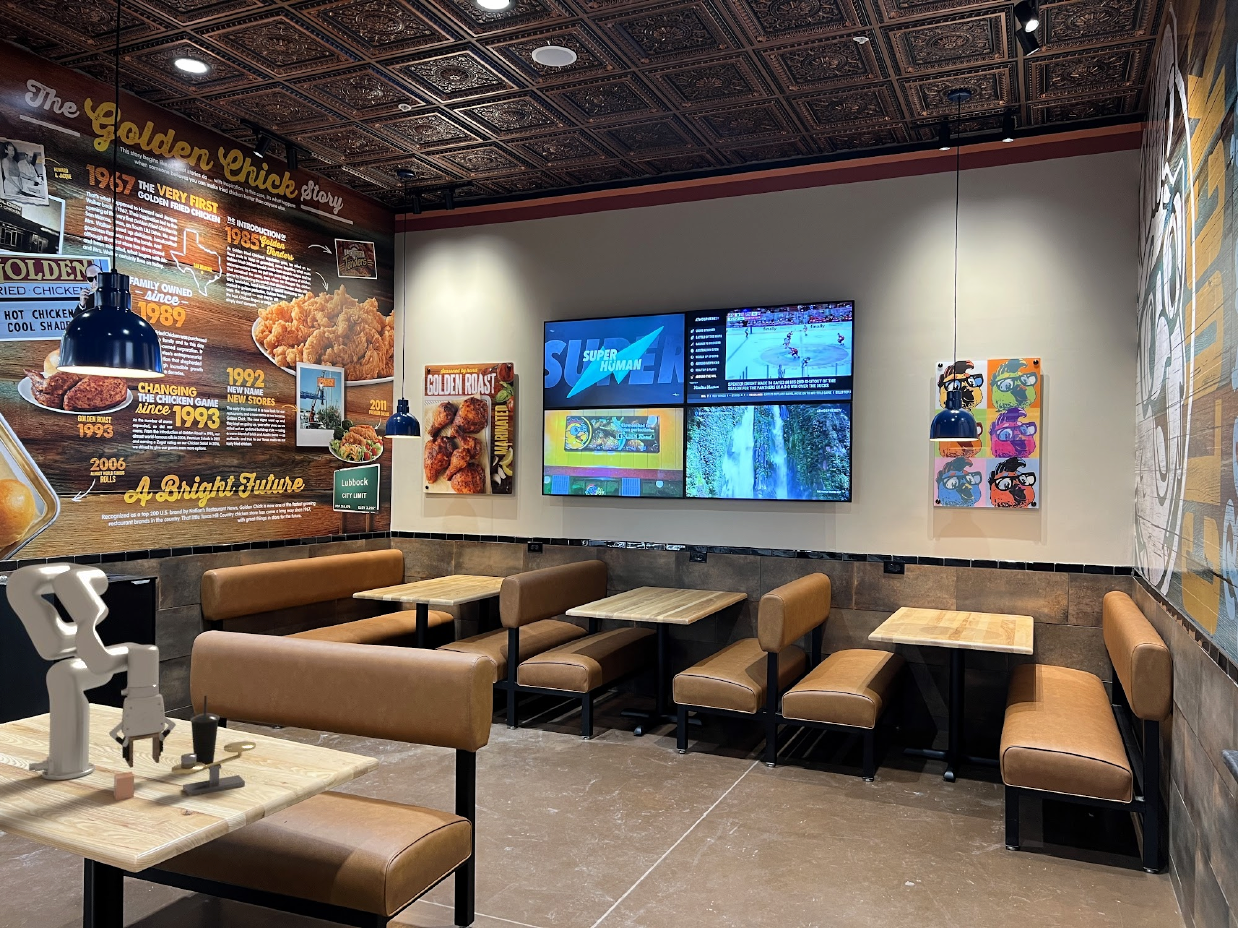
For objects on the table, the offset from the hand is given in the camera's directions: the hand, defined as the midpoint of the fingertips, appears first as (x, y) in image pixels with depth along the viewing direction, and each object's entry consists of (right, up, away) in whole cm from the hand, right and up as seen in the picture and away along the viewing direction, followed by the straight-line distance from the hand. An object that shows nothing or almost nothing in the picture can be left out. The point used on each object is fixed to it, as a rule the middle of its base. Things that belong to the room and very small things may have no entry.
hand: (142, 756), depth 246 cm
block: (+1, -7, -11) cm, 13 cm away
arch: (0, -1, 0) cm, 1 cm away
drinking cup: (+10, -7, +14) cm, 19 cm away
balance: (+21, -7, -4) cm, 22 cm away
